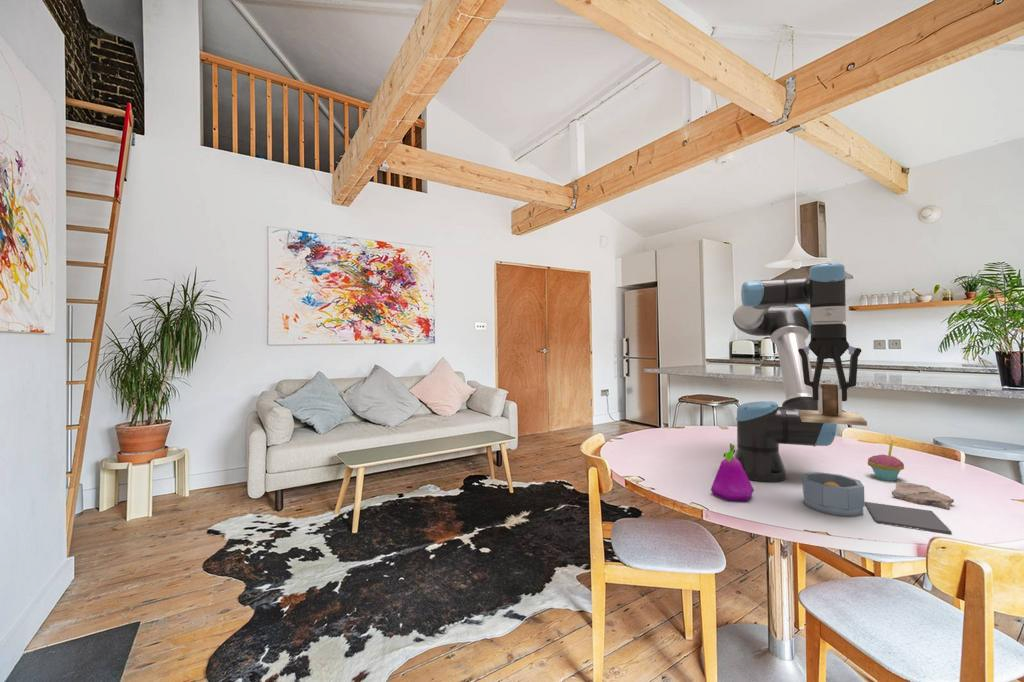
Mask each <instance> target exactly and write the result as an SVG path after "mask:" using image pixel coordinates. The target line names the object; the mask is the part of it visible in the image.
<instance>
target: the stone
mask: <svg viewBox="0 0 1024 682" xmlns="http://www.w3.org/2000/svg"><path fill="white" fill-rule="evenodd" d="M894 487H895V488H894V489H893V490H892V491H891V495H892V496H893V497H894V498H895V499H897V500H901V501H905V502H908V503H912V504H917V505H920V506H921V505H926V506H931V507H936V508H939V509H943V510H950V507H951V505H952V503H954V501H955V499H954V498H951V497H950V496H948V495H946V494H944V493H941V492H938V491H937V490H934V489H932V488H931V487H930V486H928V485H923V484H917V483H911V482H903V481H898V482H896V483H895V486H894Z"/></svg>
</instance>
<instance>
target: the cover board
mask: <svg viewBox="0 0 1024 682" xmlns="http://www.w3.org/2000/svg"><path fill="white" fill-rule="evenodd" d="M820 386H821V388H822V408H823V414H822V413H819V412H818V411H813V410H798V414H799V416H800V419H801V421H802V422H815V423H830V424H837V425H849V426H864V427H867V426H868V421H867V420H866V419H864V417H862V415H860V414H859V413H858V412H845V411H842V415H840V414H838V391H837V389H838V388H839V387H838V384H835V383H821V384H820Z"/></svg>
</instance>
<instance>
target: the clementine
mask: <svg viewBox="0 0 1024 682" xmlns="http://www.w3.org/2000/svg"><path fill="white" fill-rule="evenodd" d="M824 485H832V486H839V485H838V484H836V483H834V482H826V483H824Z"/></svg>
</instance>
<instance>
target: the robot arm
mask: <svg viewBox="0 0 1024 682" xmlns="http://www.w3.org/2000/svg"><path fill="white" fill-rule="evenodd" d="M846 278H847V275H846V271H845V265H844V264H843V263H840V262H832V263H831V262H830V263H821V264H815V265H813V266H810V268H809V273H808V276H807V277H805V276H804V277H791V278H778V279H761V280H760V279H759V280H758V279H755V280H750V281H744V282H742V285H741V290H740V291H741V292H740V297H741V305H739V306H738V307H737V308H736V309H735V310H734V313H733V315H732V321H733V324H734V325H735V327H736V328H737V329H738V330H739V331H740V332H743V333H745V334H747V335H750V336H756V337H769V338H770V341H771V342H772V343H773V344H774V345H776V351H777V355H778V360H779V364H780V365H779V366H780V371H781V378H782V383H783V389H784V394H785V398H786V399H785V400H784V401H783V402H782V403H781V406H779V404H778V403H777V402H776V401H771V400H770V401H751V402H746V403H742V404H740V405H738V407H737V408H736V418H735V421H736V438H737V439H736V440H737V441H736V442H737V445H736V446H737V449H736V451H735V454H734V457H735V458H736V459H738V460H739V461H740V463H741V465H742V467H743V469H744V471H745V473H746V475H747V477H748V479H749V481H755V482H765V483H768V482H769V483H775V482H781V481H785V480H786V478H787V470H786V468H785V466H784V463H783V461H782V457H781V455H780V451H779V450H780V449H779V448H780V447H779V446H780V445H793V446H794V445H795V446H809V447H810V446H811V447H812V446H813V447H816V446H818V447H829V446H830V445H832V443H833V442H834V440H835V438H836V434H837V428H838V427H837V425H838V424H830V423H815V422H802V421H801V419H800V416H799V414H798V410H813V411H818V412H819V413H822V414H823V408H822V388H821V387H819V385H820V380H821V376H822V372H823V365H824V361H825V360H828V359H832V360H833V362H834V367H835V371H836V375H837V380H838V384H839V387H837V388H838V389H837V391H838V414H840V415H842V412H843V402H847V401H848V389H849V388H852V387H853V388H854V387H856V385H857V377H858V376H857V374H858V363H859V356H860V355H861V353H862V351H863V350H862V349H861V348H860V347H854V346H852V345H850V343H849V342H848V341H847V325H846V323H844V322H847V315H846V314H847V310H846V309H847V308H846V305H847V304H846V296H847V295H846ZM807 305H809V307H810V308H809V307H808V306H807ZM809 335H810V341H809V343H808V345H807V342H806V340H807V339H808V338H809ZM810 351H811V352H812V353H813V354H814V356H816V361H815V362H816V363H815V367H814V373H813V371H812V366H811V362H810V356H809V355H810ZM846 351H848V355H850V357H849V371H848V372H849V373H848V381H847V380H846V376H845V371H844V368H843V364H842V363H843V362H842V356H843V355H844V354H845V353H846Z"/></svg>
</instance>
